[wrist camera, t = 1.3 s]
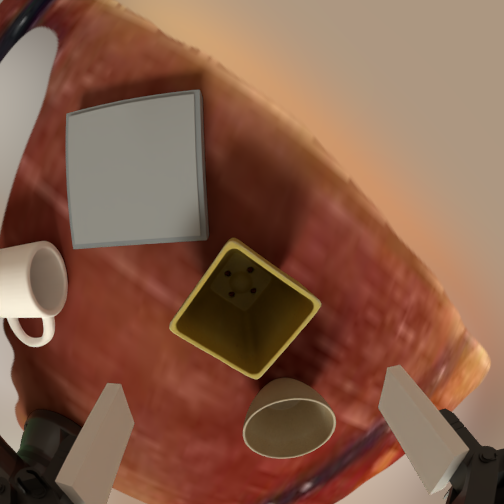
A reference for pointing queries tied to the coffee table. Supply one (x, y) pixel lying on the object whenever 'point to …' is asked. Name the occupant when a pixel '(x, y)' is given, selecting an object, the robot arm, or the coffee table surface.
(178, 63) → the coffee table surface
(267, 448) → the round planter pot
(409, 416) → the robot arm
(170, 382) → the coffee table surface
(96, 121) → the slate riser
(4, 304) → the mug
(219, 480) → the coffee table surface
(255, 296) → the flower pot
